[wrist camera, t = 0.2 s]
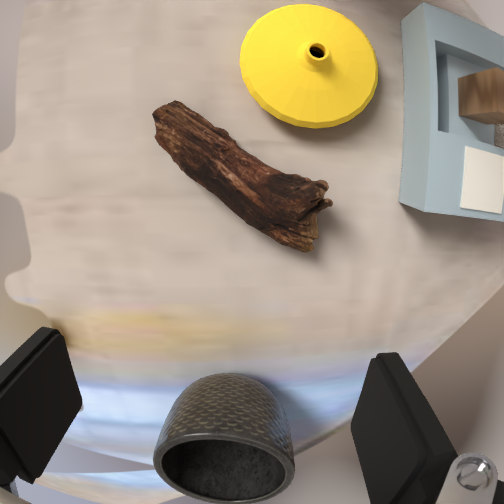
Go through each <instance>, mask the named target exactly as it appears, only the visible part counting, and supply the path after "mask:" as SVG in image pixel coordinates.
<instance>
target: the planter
mask: <svg viewBox="0 0 504 504" xmlns="http://www.w3.org/2000/svg"><path fill="white" fill-rule="evenodd" d="M153 463H154V467H155V469H156V472H157V473H158V474H159V476H160V477H161V478H162V479H163V480H164V481H165V482H166V483H167V484H168V485H170V486H171V487H172V488H174V489H175V490H177V491H179V492H181V493H183V494H185V495H187V496H190V497H192V498H195V499H198V500H202V501H206V502H210V503H217V504H251V503H256V502H260V501H263V500H267V499H269V498H272V497H274V496H276V495H278V494H279V493H281V492H282V491H284V490H285V489H286V488H287V487H288V486H289V485H290V484H291V481H292V480H293V478H294V472H295V463H294V455H293V446H292V440H291V435H290V430H289V425H288V422H287V418H286V415H285V412H284V410H283V408H282V406H281V404H280V402H279V401H278V399H277V398H276V396H275V395H274V394H273V393H272V392H271V391H270V390H269V389H268V388H267V387H266V386H264V385H263V384H262V383H260V382H258V381H256V380H254V379H252V378H249V377H247V376H243V375H239V374H233V373H223V374H214V375H210V376H207V377H204V378H201V379H199V380H197V381H195V382H194V383H192V384H191V385H190V386H188V387H187V388H186V389H185V390H184V391H183V392H182V393H181V394H180V396H179V397H178V398H177V399H176V401H175V402H174V404H173V406H172V408H171V410H170V412H169V414H168V416H167V418H166V420H165V422H164V425H163V427H162V429H161V432H160V435H159V438H158V441H157V444H156V447H155V450H154V455H153Z"/></svg>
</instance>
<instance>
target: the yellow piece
mask: <svg viewBox="0 0 504 504" xmlns="http://www.w3.org/2000/svg"><path fill="white" fill-rule="evenodd" d="M309 49H312V50H315V51H317V52H319V53H320V54H322V55H323V56H324V57H322V58H316V57H314V56H312V55H311V53H310V51H309ZM240 67H241V72H242V78H243V80H244V82H245V84H246V86H247V88H248V90H249V92H250V94H251V96H252V97H253V98H254V99H255V100H256V101H257V102H258V103H259V105H260V106H261V107H262V108H263V109H265V110H266V111H268V112H269V113H270V114H272V115H273V116H275V117H276V118H278V119H280V120H282V121H285V122H287V123H290V124H293V125H295V126H300V127H307V128H315V129H316V128H325V127H334V126H336V125H339V124H342V123H344V122H347V121H350V120H351V119H352V118H354V117H355V116H356V115H358V114H359V113H360V112H362V111H363V110H364V108H365V107H366V106H367V104H368V103H369V102H370V100H371V99H372V97H373V95H374V92H375V89H376V86H377V83H378V64H377V59H376V55H375V51H374V49H373V47H372V46H371V44H370V42H369V40H368V38H367V36H366V35H365V34H364V33H363V32H362V31H361V30H360V29H359V27H358V26H357V25H356V24H355V23H353V22H352V21H351V20H349V19H348V18H346V17H345V16H343V15H342V14H340V13H338V12H336V11H333V10H331V9H328V8H326V7H322V6H316V5H310V4H297V5H288V6H284V7H281V8H278V9H275V10H272V11H271V12H269V13H268V14H266V15H264V16H263V17H261V18H260V19H258V21H257V22H256V23H255V24H254V25H253V26H252V27H251V29H250V30H249V31H248V33H247V35H246V37H245V39H244V41H243V44H242V46H241V54H240Z"/></svg>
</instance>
